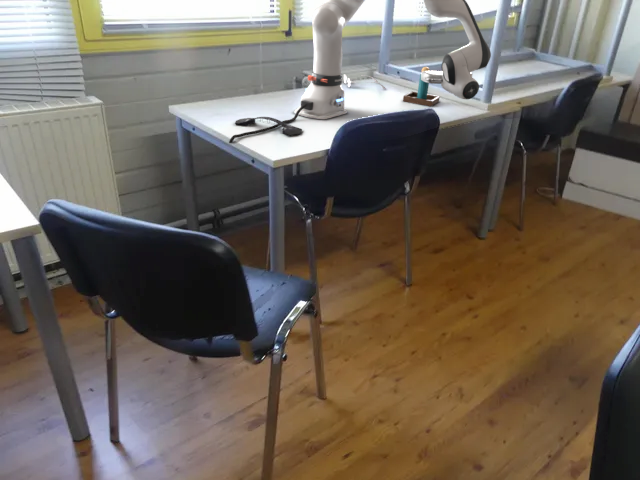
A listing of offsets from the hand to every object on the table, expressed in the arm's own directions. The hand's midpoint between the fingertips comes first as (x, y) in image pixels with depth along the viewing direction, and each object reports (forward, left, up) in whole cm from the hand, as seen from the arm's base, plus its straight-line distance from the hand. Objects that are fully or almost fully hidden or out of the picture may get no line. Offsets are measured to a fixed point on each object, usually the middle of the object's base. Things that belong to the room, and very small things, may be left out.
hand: (437, 73), depth 229 cm
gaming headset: (-70, +38, -15) cm, 81 cm away
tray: (+9, +8, -15) cm, 19 cm away
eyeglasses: (+18, +41, -15) cm, 47 cm away
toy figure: (+9, +8, -14) cm, 19 cm away
